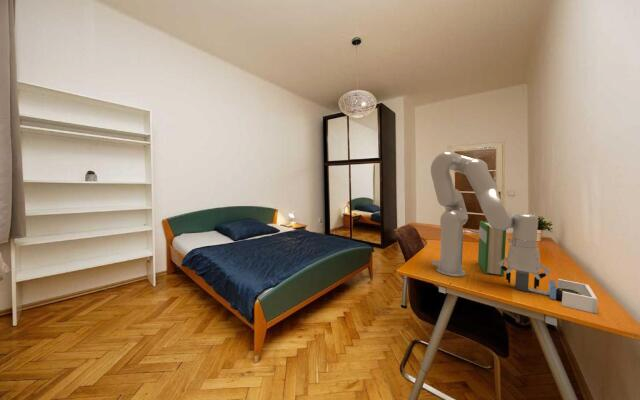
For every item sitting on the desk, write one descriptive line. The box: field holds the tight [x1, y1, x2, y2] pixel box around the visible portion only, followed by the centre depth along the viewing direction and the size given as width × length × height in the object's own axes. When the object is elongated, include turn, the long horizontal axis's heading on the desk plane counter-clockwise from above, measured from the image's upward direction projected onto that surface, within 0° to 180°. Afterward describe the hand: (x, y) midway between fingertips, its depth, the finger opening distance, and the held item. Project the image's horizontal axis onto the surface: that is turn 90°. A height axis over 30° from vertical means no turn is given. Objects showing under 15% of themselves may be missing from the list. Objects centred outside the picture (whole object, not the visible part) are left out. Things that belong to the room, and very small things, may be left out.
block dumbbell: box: [514, 270, 558, 300], centre depth 94 cm, size 12×8×7 cm
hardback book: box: [477, 220, 507, 277], centre depth 118 cm, size 18×7×24 cm, turn 155°
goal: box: [557, 278, 599, 315], centre depth 86 cm, size 8×16×5 cm, turn 138°
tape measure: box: [556, 287, 581, 301], centre depth 87 cm, size 7×7×4 cm
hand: (521, 284), depth 96 cm, fingers open, 7 cm apart
